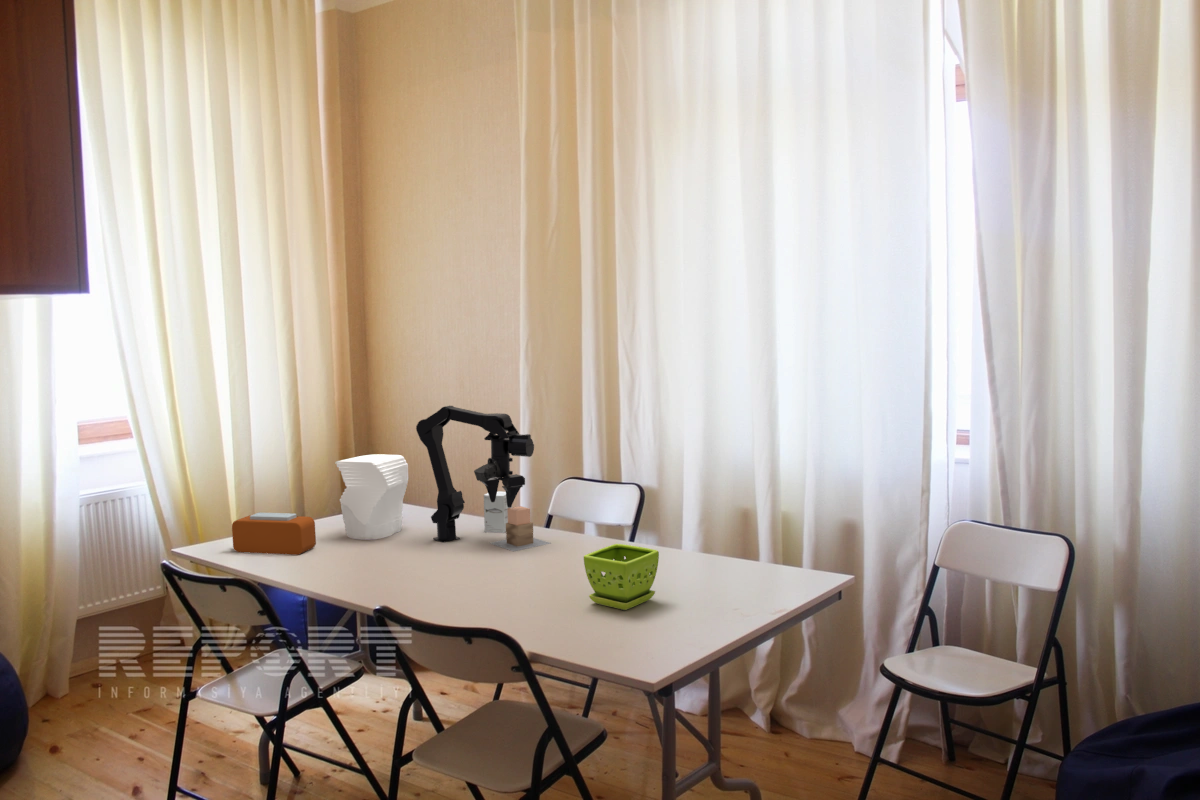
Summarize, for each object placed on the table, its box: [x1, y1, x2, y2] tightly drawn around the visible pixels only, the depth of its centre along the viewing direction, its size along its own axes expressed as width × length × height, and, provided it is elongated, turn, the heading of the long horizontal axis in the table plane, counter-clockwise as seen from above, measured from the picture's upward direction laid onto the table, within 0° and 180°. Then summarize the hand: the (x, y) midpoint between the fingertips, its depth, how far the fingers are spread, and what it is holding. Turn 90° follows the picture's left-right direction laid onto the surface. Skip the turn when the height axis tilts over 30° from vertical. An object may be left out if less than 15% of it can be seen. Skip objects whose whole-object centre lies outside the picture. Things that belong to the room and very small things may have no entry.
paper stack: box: [334, 453, 410, 541], centre depth 306 cm, size 21×27×26 cm
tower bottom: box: [505, 532, 534, 547], centre depth 289 cm, size 6×6×3 cm
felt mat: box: [489, 537, 552, 552], centre depth 289 cm, size 14×14×1 cm
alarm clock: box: [231, 512, 317, 556], centre depth 288 cm, size 24×8×11 cm, turn 76°
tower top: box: [505, 521, 534, 536], centre depth 289 cm, size 6×6×3 cm
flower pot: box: [583, 543, 660, 611], centre depth 228 cm, size 14×14×13 cm
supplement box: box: [483, 490, 513, 534], centre depth 307 cm, size 7×7×13 cm
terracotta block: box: [507, 505, 531, 525], centre depth 288 cm, size 5×5×4 cm
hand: (500, 504), depth 288 cm, fingers open, 9 cm apart
